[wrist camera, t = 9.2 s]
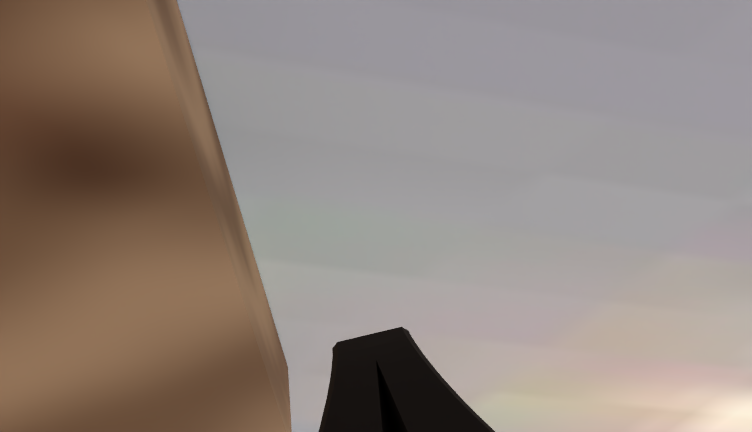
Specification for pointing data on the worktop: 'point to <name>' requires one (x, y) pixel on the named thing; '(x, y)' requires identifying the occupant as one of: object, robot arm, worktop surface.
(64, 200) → the butcher block
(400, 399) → the robot arm
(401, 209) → the worktop surface
